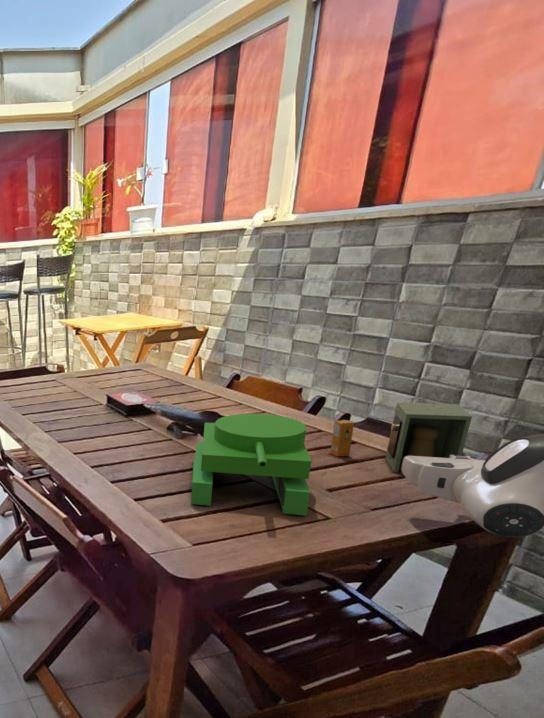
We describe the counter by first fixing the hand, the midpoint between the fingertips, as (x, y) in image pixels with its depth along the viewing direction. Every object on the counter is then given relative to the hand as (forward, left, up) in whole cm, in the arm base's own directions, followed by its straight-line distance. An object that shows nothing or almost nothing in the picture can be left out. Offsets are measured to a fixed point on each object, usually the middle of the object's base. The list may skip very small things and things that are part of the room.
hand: (458, 458), depth 106 cm
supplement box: (+16, -28, -12) cm, 35 cm away
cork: (0, -24, -12) cm, 27 cm away
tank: (+39, +4, -12) cm, 41 cm away
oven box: (0, -23, -11) cm, 26 cm away
